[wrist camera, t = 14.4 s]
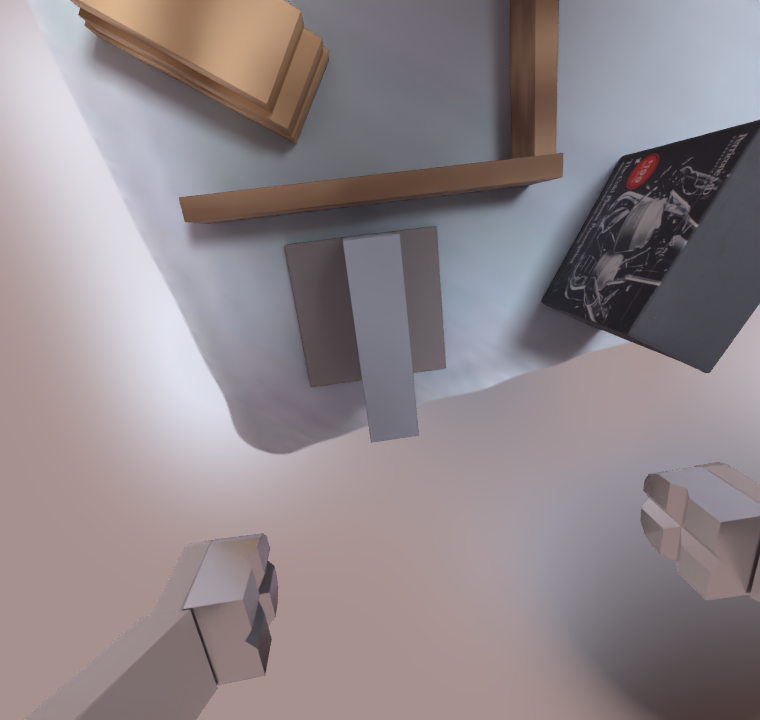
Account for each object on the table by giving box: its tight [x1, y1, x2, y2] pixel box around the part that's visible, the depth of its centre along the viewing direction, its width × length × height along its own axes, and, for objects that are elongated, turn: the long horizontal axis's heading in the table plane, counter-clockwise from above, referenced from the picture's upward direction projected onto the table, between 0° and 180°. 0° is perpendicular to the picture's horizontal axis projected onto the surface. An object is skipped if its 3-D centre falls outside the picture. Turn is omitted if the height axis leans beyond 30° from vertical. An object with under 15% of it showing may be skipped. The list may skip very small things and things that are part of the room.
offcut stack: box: [71, 0, 329, 144], centre depth 25 cm, size 14×6×6 cm, turn 64°
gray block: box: [343, 233, 419, 442], centre depth 28 cm, size 12×3×11 cm, turn 7°
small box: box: [542, 120, 760, 373], centre depth 29 cm, size 13×7×12 cm, turn 156°
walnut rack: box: [179, 0, 563, 223], centre depth 26 cm, size 22×26×5 cm
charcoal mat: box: [285, 226, 446, 387], centre depth 34 cm, size 12×12×1 cm
